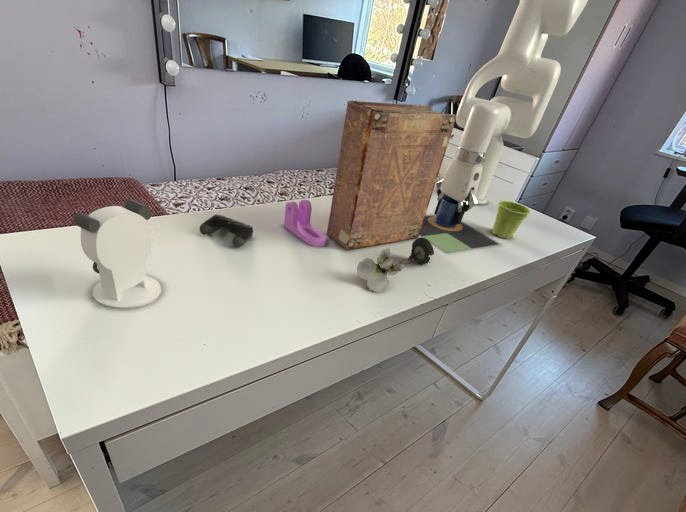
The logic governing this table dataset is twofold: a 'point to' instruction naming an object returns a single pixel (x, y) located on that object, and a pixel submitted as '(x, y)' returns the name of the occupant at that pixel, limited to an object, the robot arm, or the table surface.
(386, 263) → the artificial flower
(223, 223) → the gaming controller
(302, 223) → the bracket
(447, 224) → the blue cup
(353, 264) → the table surface
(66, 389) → the table surface
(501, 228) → the plant pot
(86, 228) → the white rounded piece
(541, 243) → the table surface
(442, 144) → the book
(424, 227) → the desk mat
